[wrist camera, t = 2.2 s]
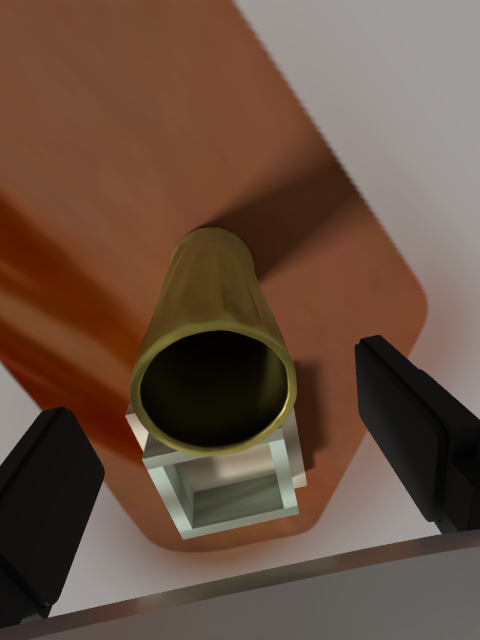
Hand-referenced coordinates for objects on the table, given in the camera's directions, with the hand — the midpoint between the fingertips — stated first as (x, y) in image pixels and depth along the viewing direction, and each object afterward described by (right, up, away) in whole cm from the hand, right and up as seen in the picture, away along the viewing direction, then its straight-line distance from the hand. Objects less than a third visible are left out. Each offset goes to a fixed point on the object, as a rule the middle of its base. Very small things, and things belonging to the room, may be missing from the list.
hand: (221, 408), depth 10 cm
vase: (-1, +7, +13) cm, 14 cm away
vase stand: (-1, -9, +20) cm, 22 cm away
